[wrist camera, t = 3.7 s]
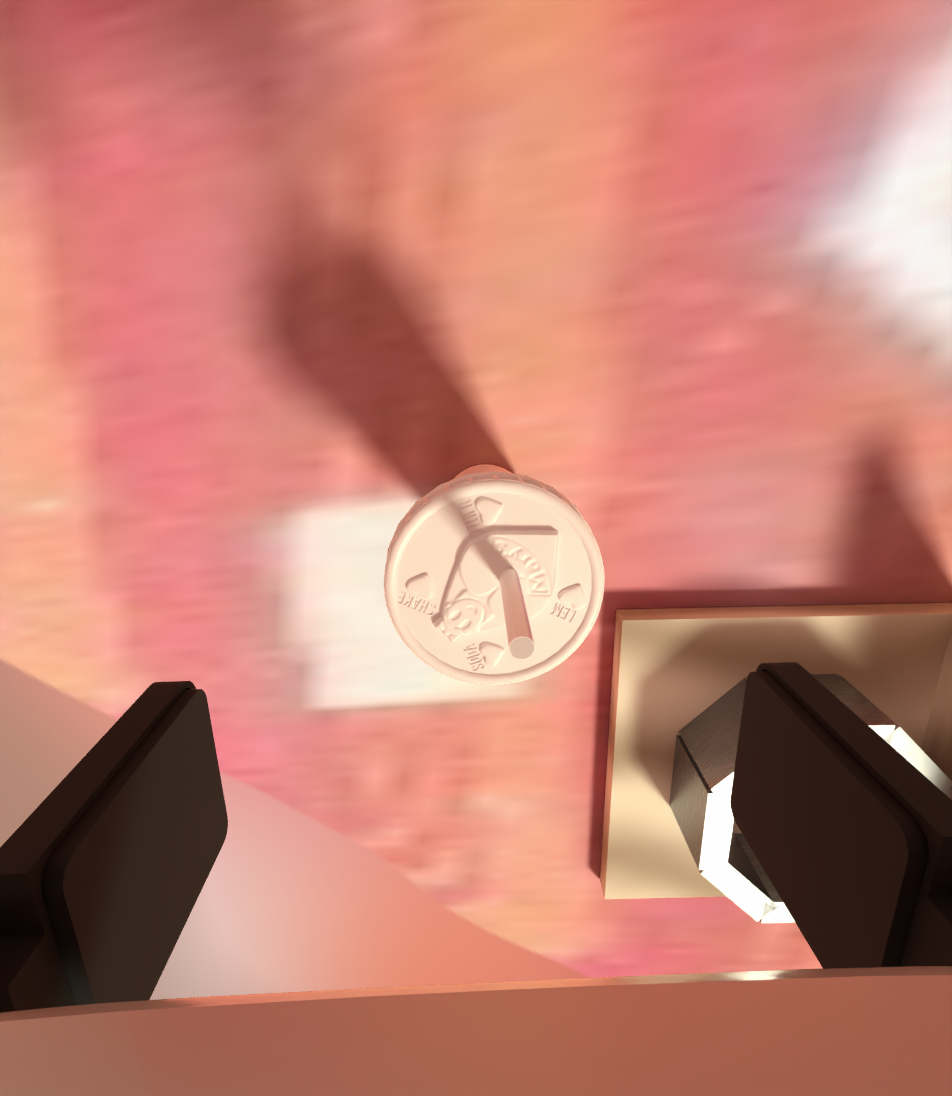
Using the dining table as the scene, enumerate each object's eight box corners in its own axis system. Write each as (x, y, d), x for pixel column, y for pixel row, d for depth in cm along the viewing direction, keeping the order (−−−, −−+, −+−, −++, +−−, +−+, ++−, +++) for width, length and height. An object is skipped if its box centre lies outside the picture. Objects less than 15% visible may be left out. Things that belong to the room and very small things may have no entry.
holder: (616, 609, 28) (695, 746, 18) (960, 602, 28) (1223, 735, 18) (599, 880, 33) (655, 1102, 23) (893, 873, 33) (1071, 1091, 23)
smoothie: (588, 508, 26) (712, 668, 13) (482, 602, 28) (495, 834, 14) (488, 399, 25) (511, 453, 12) (380, 504, 26) (289, 661, 13)
